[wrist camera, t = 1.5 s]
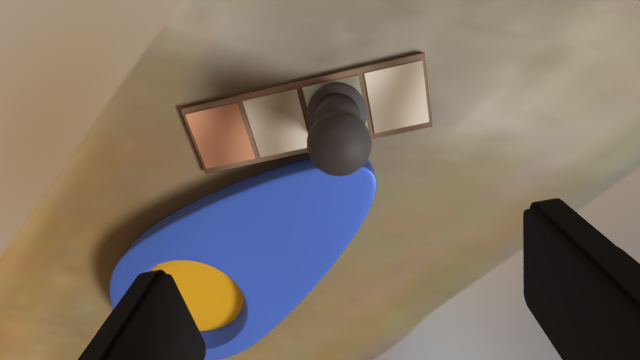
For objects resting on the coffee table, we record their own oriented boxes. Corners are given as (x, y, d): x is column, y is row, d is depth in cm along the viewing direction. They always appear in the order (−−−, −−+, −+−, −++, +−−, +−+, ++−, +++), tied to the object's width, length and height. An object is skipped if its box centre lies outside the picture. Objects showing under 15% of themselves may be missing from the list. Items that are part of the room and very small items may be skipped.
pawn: (359, 76, 25) (373, 106, 17) (370, 133, 26) (387, 183, 19) (301, 89, 25) (289, 125, 18) (314, 144, 27) (309, 199, 19)
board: (422, 52, 25) (424, 53, 24) (430, 124, 27) (432, 126, 26) (183, 107, 26) (180, 109, 26) (207, 171, 28) (205, 174, 28)
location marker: (312, 90, 27) (94, 272, 33) (311, 100, 23) (71, 299, 30) (415, 215, 31) (204, 355, 37) (426, 238, 28) (194, 387, 34)
